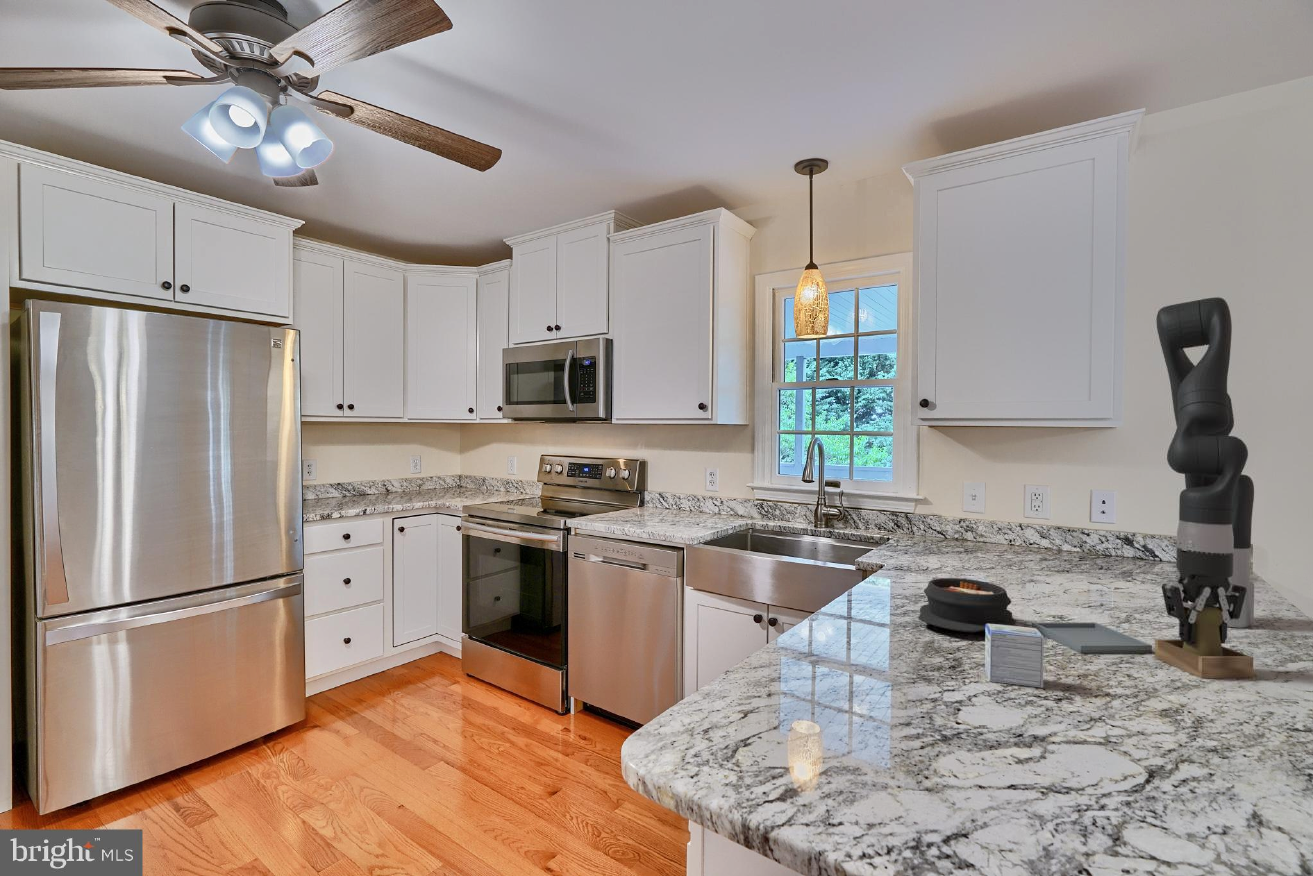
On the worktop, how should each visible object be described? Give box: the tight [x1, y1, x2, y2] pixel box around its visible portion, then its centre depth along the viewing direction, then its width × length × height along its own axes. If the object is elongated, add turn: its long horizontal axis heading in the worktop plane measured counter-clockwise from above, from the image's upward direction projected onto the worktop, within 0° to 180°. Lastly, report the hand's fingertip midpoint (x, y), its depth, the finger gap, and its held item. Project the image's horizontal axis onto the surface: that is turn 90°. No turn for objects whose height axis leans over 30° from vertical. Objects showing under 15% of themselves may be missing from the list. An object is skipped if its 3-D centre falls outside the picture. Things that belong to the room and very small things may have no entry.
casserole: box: [918, 577, 1016, 633], centre depth 132 cm, size 25×19×8 cm
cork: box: [1183, 603, 1223, 656], centre depth 108 cm, size 6×6×11 cm
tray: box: [1031, 621, 1153, 655], centre depth 122 cm, size 14×14×2 cm
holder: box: [1154, 638, 1254, 679], centre depth 108 cm, size 9×9×4 cm
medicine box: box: [984, 624, 1045, 688], centre depth 101 cm, size 8×4×9 cm, turn 71°
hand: (1202, 641), depth 108 cm, fingers closed on cork, 5 cm apart
